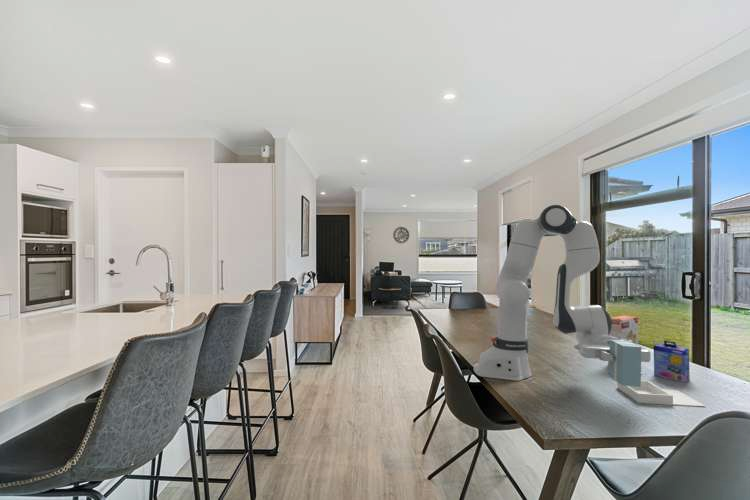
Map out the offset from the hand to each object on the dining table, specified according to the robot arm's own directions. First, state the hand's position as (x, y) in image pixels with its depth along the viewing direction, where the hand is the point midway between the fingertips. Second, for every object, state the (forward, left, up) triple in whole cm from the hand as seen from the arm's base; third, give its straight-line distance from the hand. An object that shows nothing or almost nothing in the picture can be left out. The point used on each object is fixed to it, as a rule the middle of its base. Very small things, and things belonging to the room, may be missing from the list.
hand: (625, 359), depth 107 cm
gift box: (0, 0, -7) cm, 7 cm away
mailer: (+16, +12, -16) cm, 26 cm away
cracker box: (+23, +47, -16) cm, 55 cm away
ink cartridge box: (+33, +33, -16) cm, 49 cm away
